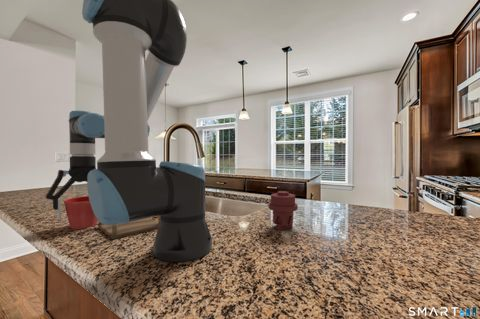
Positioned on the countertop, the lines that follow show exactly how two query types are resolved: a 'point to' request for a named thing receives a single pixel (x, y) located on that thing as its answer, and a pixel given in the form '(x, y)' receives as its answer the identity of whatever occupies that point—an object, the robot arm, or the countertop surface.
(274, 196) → the mechanical component
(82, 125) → the robot arm
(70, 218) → the flower pot
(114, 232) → the pot stand
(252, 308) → the countertop surface
